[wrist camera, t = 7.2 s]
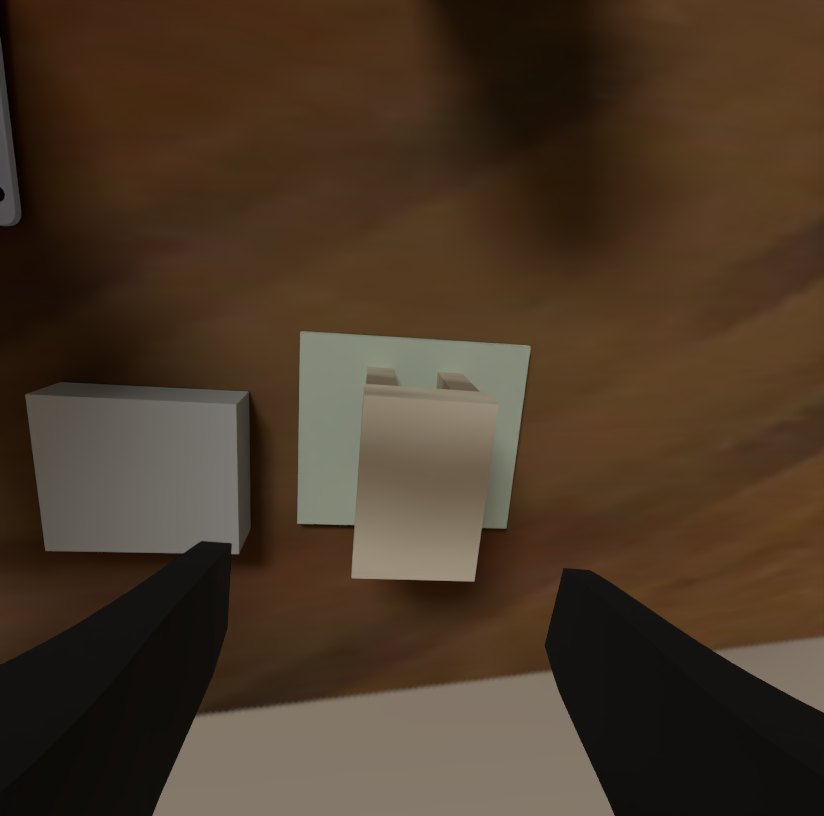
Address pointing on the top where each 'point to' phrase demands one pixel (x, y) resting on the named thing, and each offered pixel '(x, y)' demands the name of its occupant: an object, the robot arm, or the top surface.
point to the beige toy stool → (422, 478)
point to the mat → (413, 367)
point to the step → (140, 467)
